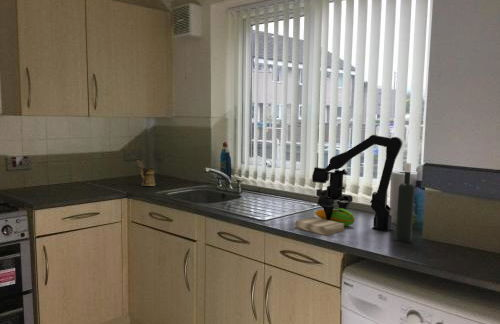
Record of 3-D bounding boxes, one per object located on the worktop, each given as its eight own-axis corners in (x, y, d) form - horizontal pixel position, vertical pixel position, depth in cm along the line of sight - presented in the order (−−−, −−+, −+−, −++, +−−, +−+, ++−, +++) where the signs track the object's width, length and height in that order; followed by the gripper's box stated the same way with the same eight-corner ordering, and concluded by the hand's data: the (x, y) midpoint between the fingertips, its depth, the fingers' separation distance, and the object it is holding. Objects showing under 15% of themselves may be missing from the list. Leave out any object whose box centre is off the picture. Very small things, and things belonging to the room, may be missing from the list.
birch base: (343, 230, 182) (344, 223, 182) (326, 235, 174) (326, 228, 174) (313, 223, 194) (313, 216, 193) (295, 227, 185) (295, 220, 185)
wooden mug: (132, 186, 282) (133, 158, 280) (149, 184, 292) (150, 157, 291) (141, 188, 276) (141, 159, 275) (158, 186, 287) (158, 158, 285)
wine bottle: (412, 242, 167) (417, 164, 164) (396, 241, 168) (401, 163, 165) (409, 238, 172) (414, 162, 170) (394, 237, 173) (399, 162, 171)
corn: (349, 211, 184) (310, 204, 198) (348, 229, 184) (309, 221, 198) (358, 210, 189) (320, 203, 203) (357, 227, 190) (318, 219, 203)
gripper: (333, 180, 205) (331, 213, 206) (308, 183, 192) (306, 218, 194) (354, 183, 197) (352, 217, 199) (329, 186, 184) (327, 223, 186)
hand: (334, 219), depth 194 cm, fingers open, 9 cm apart
